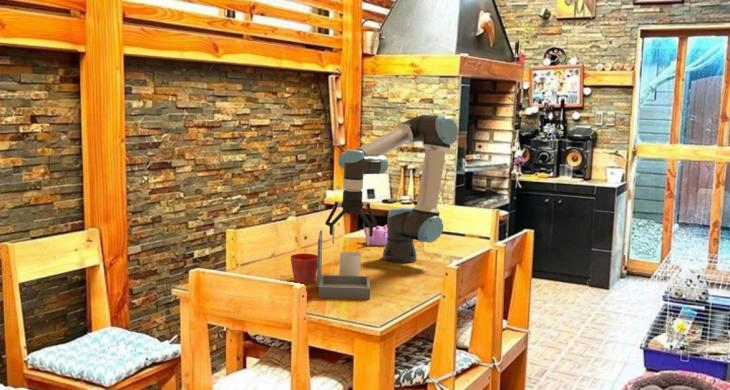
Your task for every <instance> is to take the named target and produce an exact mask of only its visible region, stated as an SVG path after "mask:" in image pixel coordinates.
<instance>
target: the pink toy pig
mask: <svg viewBox="0 0 730 390" xmlns="http://www.w3.org/2000/svg"><path fill="white" fill-rule="evenodd" d="M368 228H369V227H364V229H363V231H364V235H365V243H366V244H367V231H368ZM387 228H388V224H385V225H384V226H383V228H381V226H378V225H377V227H374V228H373V232H372V237H371V236H369V245H368V246H373V247H385V246H386V243H387Z"/></svg>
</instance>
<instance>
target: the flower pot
mask: <svg viewBox="0 0 730 390" xmlns="http://www.w3.org/2000/svg"><path fill="white" fill-rule="evenodd" d="M317 261H318V254H315V253H304V252H303V253H295V254H292V255H290V262H291V269H292V274H293V280H294V282H295V281H296V282H295V283H297V282H300V283H299V284H312V283H314V282H315V280H316V278H317Z"/></svg>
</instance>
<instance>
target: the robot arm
mask: <svg viewBox="0 0 730 390" xmlns="http://www.w3.org/2000/svg"><path fill="white" fill-rule="evenodd" d="M458 135H459V128H458V124H457V123H456V120H454V118H452V117H451V116H447V115H439V114H438V115H436V114H435V115H433V114H422V115H418V116H417V115H416V116H414V117H412V118H409V119H407V120H405V121H403V122H401V123H400V124H398V125H397V127H396V128H395V129H393V130H391V131H389V132H387V133H385V134H383V135H381V136H379V137H378V138H376V139H373V140H372V141H369V142H368V143H366V144H364V145H363V146H360V147H358V148H356V149H347V150H346V151H343V152H342V153H340V154H339V156H338V160H337V162H338V167H340V168H341V169H342V170H343V185H342V186H343V187H342V188H343V191H342V201H341V202H339V201H336V200H335V201H334V205H333V208H332V210H331V212H330V213H329V214H328V217H327V219H326V221H325V223H324V224H325V226H328V227H329V235H330V236H332V238H331V244H332V245H334V244H335V229H336V226H335V224H336V223H337V222H339V220H340V219H341V218H342V217H343V216H344V215H345V214H347V215H352V214H353V215H357V214H358V215H359V216H360V218H362V220H363V221H364V222H365V224H367V226H368V227H367V228H368V230H367V243H366V245H367V246H370V245H369V236H371V237H372V232H373V228H375V227H377V226H378V223H377V221H376V218H375V216H374V213H373V212H372V209H371V204H370V202H367V203H366V202H364V203H363V191H362V190H363V187H364V175H380V174H384V173H386V172H387V171H388V168H389V161H388V158H387V157H386V156H385V155H387V154H388V153H390V152H392V151H394V150H396V149H398V148H400V147H402V146H403V145H410V144H413V143H417V142H423V143H422V146H423V148H424V149H425V152H424V156H423V157H424V158H423V165H422V170H421V175H420V176H421V178H420V183H419V191H418V196H417V202H416V205H415V206H414V207H395V208H391V209H389V210H388V215H387V229H386V231H387V243H386V245H385V246H384V248H383V252H382V259H383V261H386V262H390V263H397V264H398V263H401V264H402V263H403V264H405V263H406V264H407V263H413V262H416V261H417V258H418V256H417V251H416V247H415V245H414V240H415V241H419V242H421V243H427V244H428V243H433V242H435V241H437V239H439V238H440V237H441V236H442V233H443V231H444V222H443V220H442V219H443V218H441V217H440V213H441V212H440V211H439V209H438V203H439V195H440V190H441V183H442V178H443V171H444V164H445V159H446V153H447V152H448V151H450V149H451V145H452V144H454V143H455V142H456V141H457V140H458ZM340 206H341V207H342V210H341V211H340V213H338V215H337V216H336V217H335V218H334V219H333V220H332V218H333V216H334V215H335V213H336V211H337V210H338V208H340ZM362 208H364V209H366V210H367V212H368V215H369V217H370V219H371V222H372V223H371V222H370V220H369V219H368V218H367V216H366V215H365V214H364V212H363V211H362ZM331 220H332V221H331Z"/></svg>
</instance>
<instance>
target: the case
mask: <svg viewBox="0 0 730 390" xmlns="http://www.w3.org/2000/svg"><path fill="white" fill-rule="evenodd" d="M317 256H318V261H317V272H316V287H317V288H318V298H319V299H345V300H350V299H351V300H371V284H370V283H371V282H370V276H369V275H366V276H365V275H360V276H340V275H339V274H338V275H335V274H322V270H323V269H322V268H323V264H322V263H323V230H322V229H321V230H319V234H318V238H317Z"/></svg>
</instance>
